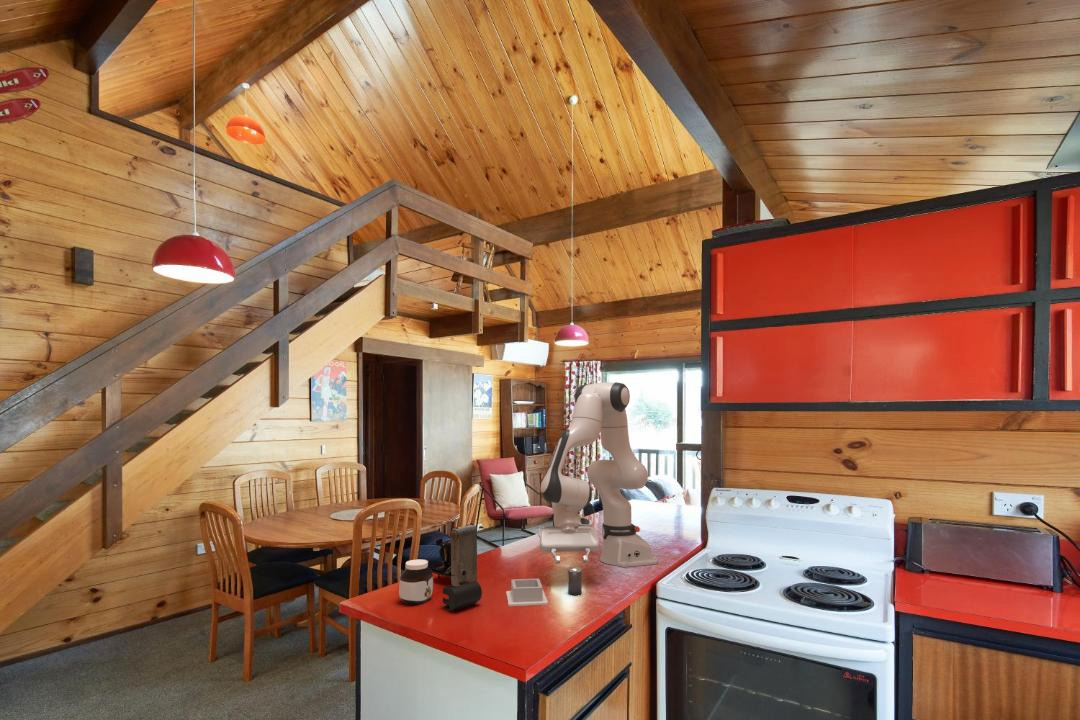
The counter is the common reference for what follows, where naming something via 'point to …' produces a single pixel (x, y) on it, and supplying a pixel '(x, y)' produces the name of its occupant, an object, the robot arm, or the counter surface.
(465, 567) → the vintage camera
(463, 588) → the end cap
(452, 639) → the counter surface
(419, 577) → the spread jar
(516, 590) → the open square tray
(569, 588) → the brown cylinder
